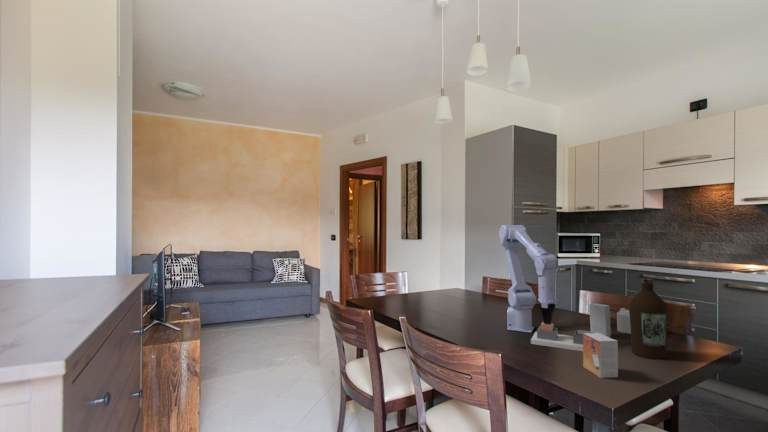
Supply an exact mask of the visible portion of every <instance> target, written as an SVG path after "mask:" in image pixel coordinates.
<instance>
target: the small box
mask: <svg viewBox="0 0 768 432" xmlns="http://www.w3.org/2000/svg"><path fill="white" fill-rule="evenodd" d="M618 344H619V342H618V340H617V339H613V338H611V337H607V336H605V335H603V334H601V333H583V351H582V360H583V361H582V365H583V367H582V368H584V369H586V370H587V371H589V372H590V373H592V374H594V375H595V376H597V377H598V378H599V379H602V378H603V379H605V378H618V377H619V352H618V351H619V350H618V347H619V346H618Z"/></svg>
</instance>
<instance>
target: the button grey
mask: <svg viewBox="0 0 768 432" xmlns="http://www.w3.org/2000/svg"><path fill="white" fill-rule="evenodd" d="M590 332H591V330H590V331H589V330H583V329H577V335H583V333H590Z"/></svg>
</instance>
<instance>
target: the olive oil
mask: <svg viewBox="0 0 768 432" xmlns="http://www.w3.org/2000/svg"><path fill="white" fill-rule="evenodd" d="M653 282H654V280H653V279H651V278H641V283H640V287H641V288H640V291H639V292H637V293H636V294H635V295H634V296H633V297H632V298H631V299H630V301H629V304H628V310H629V315H630V327H631V334H630V341H631V342H630V343H631V352H632V353H633V354H634V355H636V356H639V357H642V358H647V359H653V360H662V359H666V358H667V347H668V345H667V339H668V338H667V337H668V307H667V304H666V302H665V301H664V300H663V298H661V297H660V296H659V294H657V293H656V292H655V290H654V283H653Z"/></svg>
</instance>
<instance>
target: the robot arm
mask: <svg viewBox="0 0 768 432" xmlns="http://www.w3.org/2000/svg"><path fill="white" fill-rule="evenodd" d="M498 236H499V239H500V240H499V242H500V244H501V246H502V247H503V251H504V256H505V260H506V264H507V267H508V272H509V275H510V280H511V285H512V286H510V287H509V288H508V290H507V294H508V295H507V301H508V304H509V305H510V306H508V307H507V310H506V311H507V312H506V320H507V321H506V323H507V326H506V327H507V328H506V329H507V330H508V331H515V332H516V331H517V332H522V333H528V334H529V333H533V330H534V329H535V326H532V325H533V323H532V322H533V321H532V319H533V318H532V315H533V314H532V309H534V307H535V305H536V303H537V301H538V302H539V303H538V305H537V306H538V309H539V310H540V313H541V315H542V322H544V324H551V323H552V320H553V319H552V318H553V314H554V309H555V308H556V304H555V303H560V299H557V298H556V274H555V273H556V270H557V269H558V266H559V260H558V258H557V256H556V255H555V254H551V253H548V252H547V250H546V249H544V248H543V246H542V245H541V244H540V243H538V242H534V241H533V240H532V239H531V237H530V236H529V234H528V233H527V228H526V227H525V226H524V225H523V224H517V225H516V224H513V225H512V224H511V225H510V224H509V225H508V224H502V225H501V226H500V228H499V231H498ZM520 245H523V246H524V248H525V249H526V254H527V255H528V256H529V257H530V258H531V259H532V260H533V262H534V264H533V265H534V268H535V269H536V274H537V275H538V276H537V277H538V281H537V282H538V285H537V286H538V290H537V291H538V298H537V297H536V295H535V292H534V290H533V288H532V286H530V285H528V284H527V283H526V281H525V277H524V273H523V268H522V265H521V261H520V257H519V254H518V250H517V248H518V247H519V246H520Z"/></svg>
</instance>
